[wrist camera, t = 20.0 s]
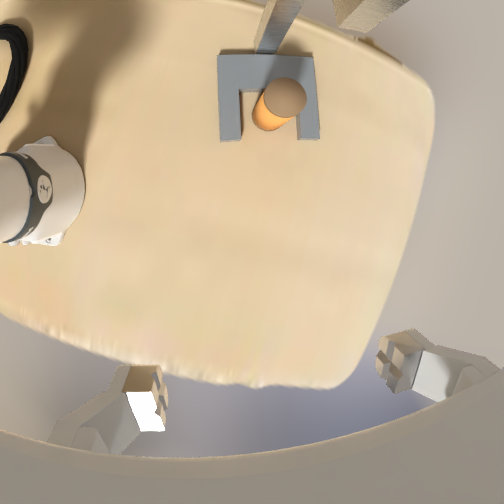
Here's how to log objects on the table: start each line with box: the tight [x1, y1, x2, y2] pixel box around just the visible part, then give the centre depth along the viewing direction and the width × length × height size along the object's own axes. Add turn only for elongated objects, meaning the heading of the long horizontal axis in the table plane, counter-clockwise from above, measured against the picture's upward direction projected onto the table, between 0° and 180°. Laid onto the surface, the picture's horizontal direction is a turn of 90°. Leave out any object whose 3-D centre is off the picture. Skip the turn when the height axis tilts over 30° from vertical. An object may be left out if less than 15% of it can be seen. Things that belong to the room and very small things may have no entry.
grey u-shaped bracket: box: [217, 54, 320, 142], centre depth 40 cm, size 15×14×2 cm
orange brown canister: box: [252, 77, 307, 131], centre depth 36 cm, size 5×5×12 cm
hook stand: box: [254, 0, 409, 55], centre depth 23 cm, size 3×14×36 cm, turn 3°
